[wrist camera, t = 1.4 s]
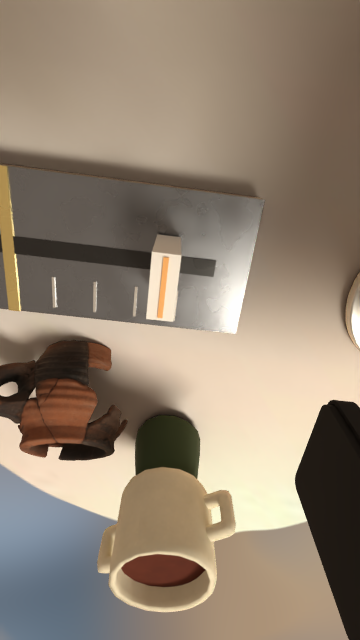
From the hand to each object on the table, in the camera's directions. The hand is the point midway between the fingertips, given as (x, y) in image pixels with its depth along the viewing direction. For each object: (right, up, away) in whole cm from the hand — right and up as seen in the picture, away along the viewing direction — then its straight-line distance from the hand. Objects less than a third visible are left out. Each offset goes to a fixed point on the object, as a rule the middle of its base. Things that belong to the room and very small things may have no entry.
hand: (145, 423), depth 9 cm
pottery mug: (-9, -3, +22) cm, 24 cm away
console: (-5, +8, +16) cm, 19 cm away
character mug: (0, -9, +24) cm, 26 cm away
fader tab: (0, +7, +14) cm, 16 cm away
